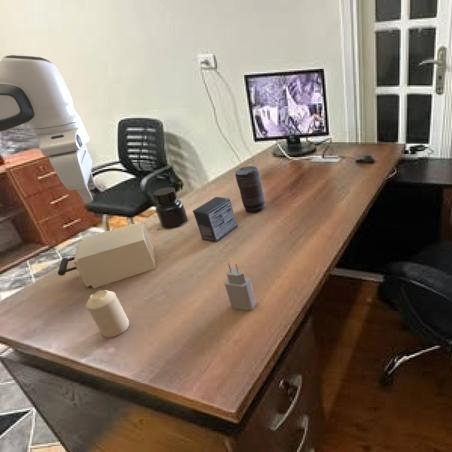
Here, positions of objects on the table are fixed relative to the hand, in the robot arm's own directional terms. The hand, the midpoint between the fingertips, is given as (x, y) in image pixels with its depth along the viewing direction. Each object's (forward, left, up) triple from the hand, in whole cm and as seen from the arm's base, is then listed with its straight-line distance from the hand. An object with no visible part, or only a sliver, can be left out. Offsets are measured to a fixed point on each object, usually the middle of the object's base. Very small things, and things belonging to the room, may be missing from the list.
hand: (90, 194), depth 83 cm
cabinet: (-1, +8, -25) cm, 26 cm away
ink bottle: (+15, +29, -25) cm, 41 cm away
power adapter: (+24, -28, -25) cm, 45 cm away
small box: (+27, +11, -25) cm, 38 cm away
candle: (-3, -19, -25) cm, 32 cm away
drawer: (-5, +7, -24) cm, 26 cm away
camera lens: (+42, +21, -25) cm, 53 cm away
